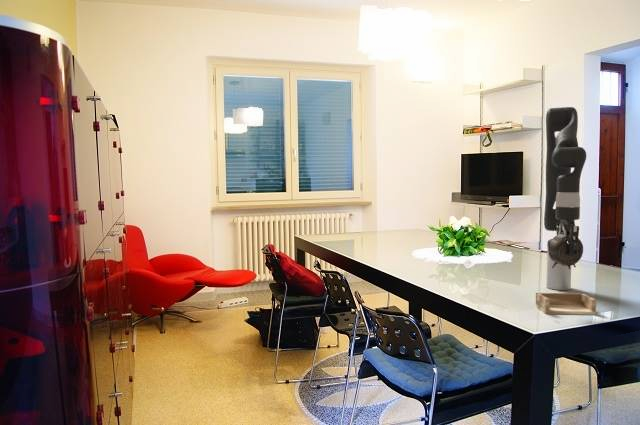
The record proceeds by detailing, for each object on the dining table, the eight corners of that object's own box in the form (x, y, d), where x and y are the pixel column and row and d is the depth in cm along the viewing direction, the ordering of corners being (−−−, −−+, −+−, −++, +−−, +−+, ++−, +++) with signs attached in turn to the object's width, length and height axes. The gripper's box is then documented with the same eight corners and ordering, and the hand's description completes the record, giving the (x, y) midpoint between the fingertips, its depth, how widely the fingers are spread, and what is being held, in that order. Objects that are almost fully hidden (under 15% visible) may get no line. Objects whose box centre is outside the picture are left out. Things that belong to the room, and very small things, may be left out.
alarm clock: (575, 266, 179) (576, 220, 178) (585, 269, 174) (586, 222, 172) (547, 267, 177) (548, 221, 176) (556, 270, 172) (557, 222, 171)
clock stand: (535, 306, 182) (535, 292, 182) (583, 307, 181) (583, 293, 180) (545, 313, 172) (545, 299, 172) (595, 314, 171) (596, 300, 171)
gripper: (548, 204, 181) (547, 251, 182) (564, 206, 167) (563, 257, 168) (570, 204, 181) (569, 251, 182) (588, 206, 166) (586, 257, 167)
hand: (566, 253), depth 175 cm, fingers closed on alarm clock, 5 cm apart
